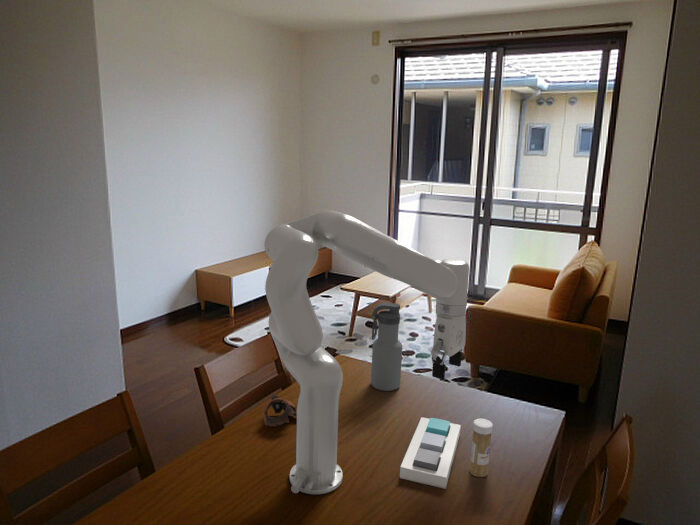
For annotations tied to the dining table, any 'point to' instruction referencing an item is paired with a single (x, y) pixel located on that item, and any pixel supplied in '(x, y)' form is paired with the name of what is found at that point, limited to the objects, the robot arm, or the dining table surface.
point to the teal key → (438, 426)
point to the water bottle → (386, 348)
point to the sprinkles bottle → (480, 447)
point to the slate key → (433, 442)
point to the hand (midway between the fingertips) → (446, 371)
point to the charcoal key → (427, 459)
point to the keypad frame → (446, 458)
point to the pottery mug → (278, 407)
